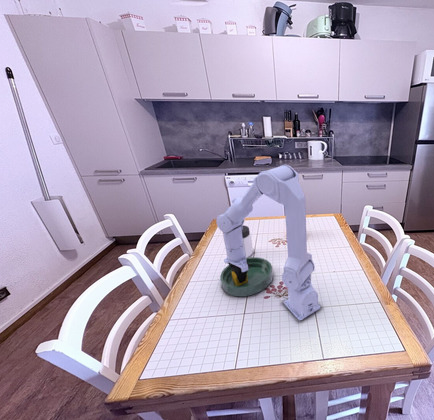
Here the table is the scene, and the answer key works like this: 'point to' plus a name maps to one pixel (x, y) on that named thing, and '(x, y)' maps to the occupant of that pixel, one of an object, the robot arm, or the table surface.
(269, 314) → the table surface
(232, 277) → the yellow cube
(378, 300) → the table surface
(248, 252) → the jar
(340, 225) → the table surface
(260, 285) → the bowl
